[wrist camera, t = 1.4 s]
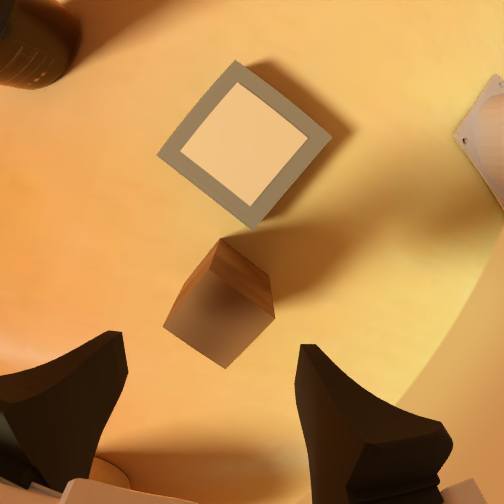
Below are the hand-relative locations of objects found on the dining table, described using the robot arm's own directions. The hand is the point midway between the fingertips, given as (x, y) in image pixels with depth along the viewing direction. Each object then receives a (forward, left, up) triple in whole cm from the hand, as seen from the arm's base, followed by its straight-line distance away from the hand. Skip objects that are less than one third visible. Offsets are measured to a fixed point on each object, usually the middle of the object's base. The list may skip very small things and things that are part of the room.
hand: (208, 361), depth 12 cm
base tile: (+4, -7, -9) cm, 13 cm away
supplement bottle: (+21, -5, -10) cm, 24 cm away
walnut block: (0, 0, -10) cm, 10 cm away
